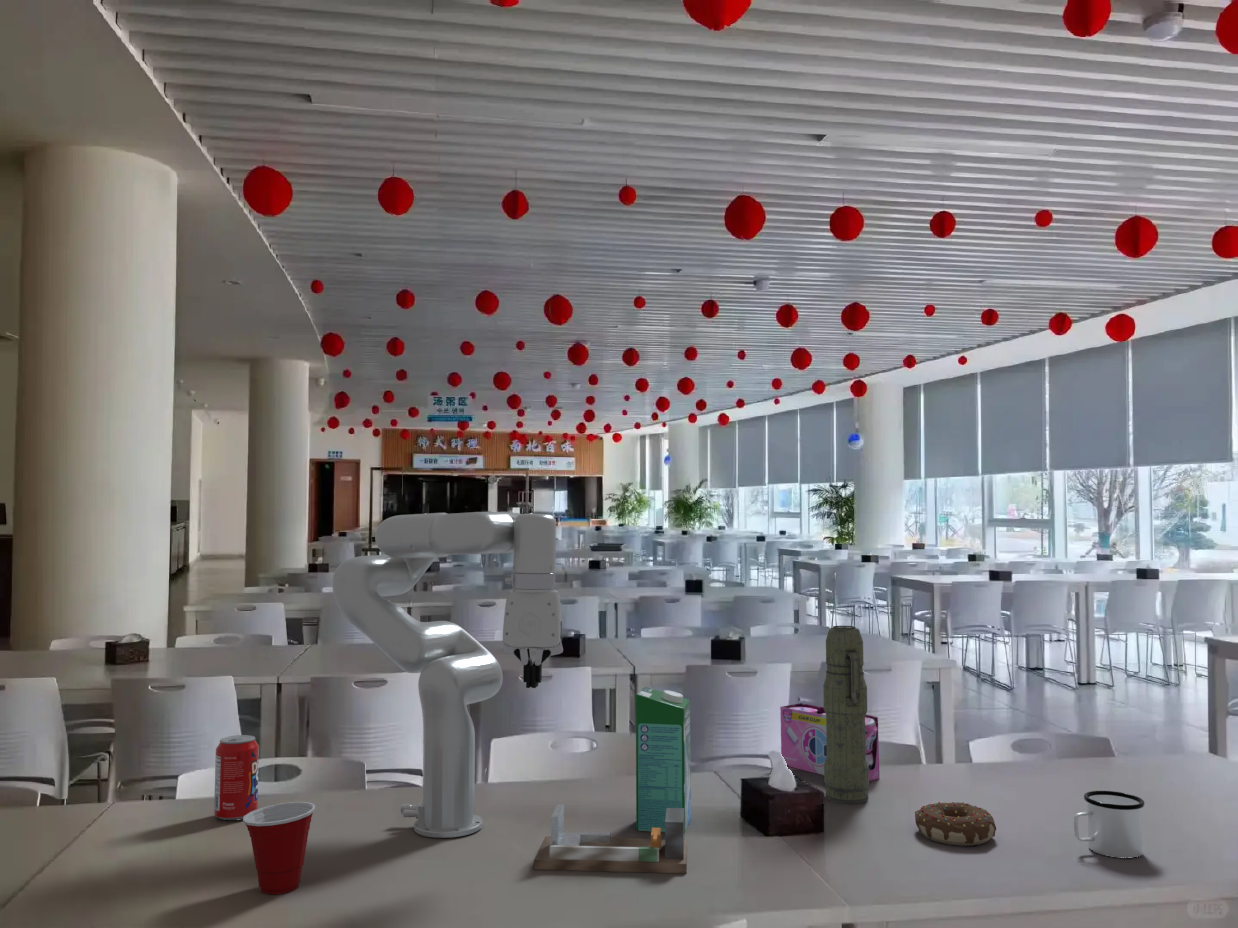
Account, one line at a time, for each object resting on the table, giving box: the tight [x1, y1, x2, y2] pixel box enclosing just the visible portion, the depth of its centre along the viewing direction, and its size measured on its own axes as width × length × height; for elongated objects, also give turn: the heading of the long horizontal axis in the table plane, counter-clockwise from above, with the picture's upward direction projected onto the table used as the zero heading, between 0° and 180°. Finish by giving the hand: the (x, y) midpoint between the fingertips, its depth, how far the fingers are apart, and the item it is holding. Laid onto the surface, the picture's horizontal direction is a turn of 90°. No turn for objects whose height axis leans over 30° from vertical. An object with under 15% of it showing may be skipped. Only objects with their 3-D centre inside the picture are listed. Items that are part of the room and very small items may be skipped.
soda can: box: [213, 734, 260, 821], centre depth 189 cm, size 8×8×15 cm
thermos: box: [822, 625, 870, 805], centre depth 202 cm, size 9×12×35 cm
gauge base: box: [533, 808, 688, 874], centre depth 165 cm, size 25×12×8 cm, turn 85°
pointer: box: [650, 828, 662, 850], centre depth 162 cm, size 2×7×3 cm, turn 175°
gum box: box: [779, 702, 880, 782], centre depth 222 cm, size 24×8×14 cm, turn 39°
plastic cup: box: [242, 801, 316, 895], centre depth 152 cm, size 11×11×12 cm
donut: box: [914, 801, 997, 847], centre depth 176 cm, size 14×14×5 cm
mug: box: [1073, 790, 1146, 858], centre depth 168 cm, size 12×10×9 cm
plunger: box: [550, 803, 612, 846], centre depth 165 cm, size 10×7×6 cm
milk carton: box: [635, 686, 692, 834], centre depth 183 cm, size 9×9×25 cm
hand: (532, 686), depth 172 cm, fingers closed
